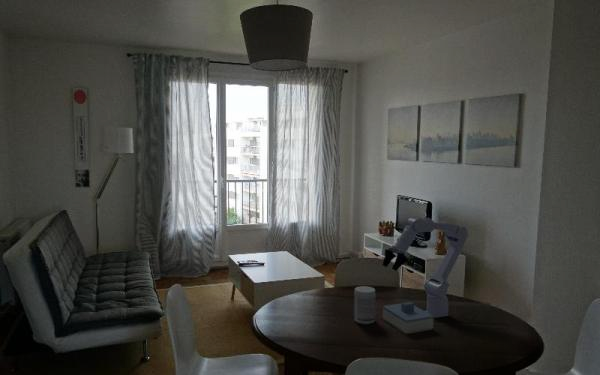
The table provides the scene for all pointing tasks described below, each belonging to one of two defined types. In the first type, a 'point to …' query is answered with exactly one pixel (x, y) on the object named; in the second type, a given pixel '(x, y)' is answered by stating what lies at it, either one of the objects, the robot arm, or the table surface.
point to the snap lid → (408, 312)
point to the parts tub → (410, 326)
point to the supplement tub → (364, 304)
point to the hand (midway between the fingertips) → (389, 267)
